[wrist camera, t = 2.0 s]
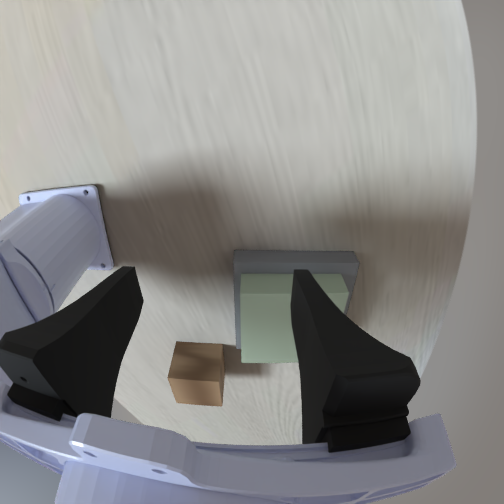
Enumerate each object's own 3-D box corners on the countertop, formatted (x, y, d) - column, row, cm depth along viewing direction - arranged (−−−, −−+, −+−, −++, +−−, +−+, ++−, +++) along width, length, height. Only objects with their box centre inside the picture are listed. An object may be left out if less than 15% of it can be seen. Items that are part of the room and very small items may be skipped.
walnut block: (183, 368, 33) (176, 402, 28) (176, 340, 30) (167, 377, 26) (225, 370, 33) (222, 406, 28) (222, 343, 30) (218, 381, 26)
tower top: (242, 342, 27) (241, 362, 25) (241, 273, 23) (240, 293, 21) (324, 340, 27) (329, 360, 25) (340, 273, 23) (348, 292, 21)
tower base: (237, 330, 30) (236, 348, 28) (234, 245, 25) (233, 262, 22) (332, 329, 30) (336, 346, 28) (351, 247, 25) (359, 262, 23)
